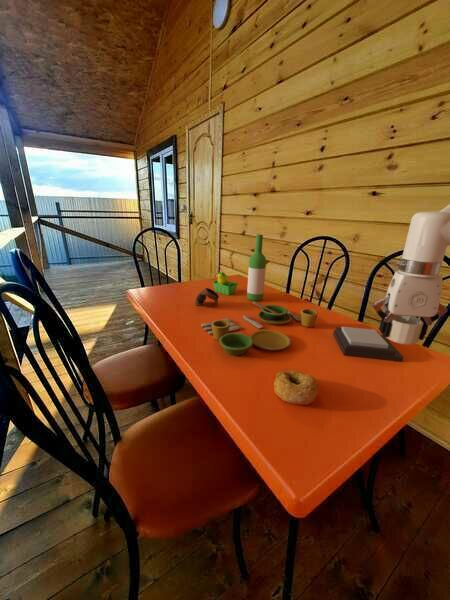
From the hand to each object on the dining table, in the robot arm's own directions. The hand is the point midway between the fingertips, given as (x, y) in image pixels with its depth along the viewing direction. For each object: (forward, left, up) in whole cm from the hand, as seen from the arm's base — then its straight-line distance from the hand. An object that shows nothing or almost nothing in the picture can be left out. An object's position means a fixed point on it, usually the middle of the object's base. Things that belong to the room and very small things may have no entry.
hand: (400, 335), depth 65 cm
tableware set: (+34, -17, -11) cm, 40 cm away
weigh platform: (+3, -13, -8) cm, 16 cm away
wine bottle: (+39, -51, -11) cm, 65 cm away
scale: (+2, -13, -11) cm, 17 cm away
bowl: (0, 0, -1) cm, 1 cm away
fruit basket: (+55, -57, -11) cm, 80 cm away
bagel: (+26, +14, -11) cm, 32 cm away
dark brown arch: (+60, -37, -11) cm, 72 cm away
